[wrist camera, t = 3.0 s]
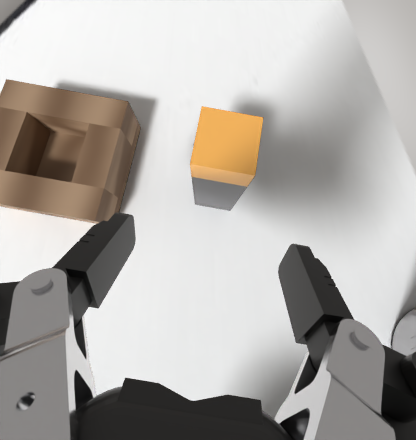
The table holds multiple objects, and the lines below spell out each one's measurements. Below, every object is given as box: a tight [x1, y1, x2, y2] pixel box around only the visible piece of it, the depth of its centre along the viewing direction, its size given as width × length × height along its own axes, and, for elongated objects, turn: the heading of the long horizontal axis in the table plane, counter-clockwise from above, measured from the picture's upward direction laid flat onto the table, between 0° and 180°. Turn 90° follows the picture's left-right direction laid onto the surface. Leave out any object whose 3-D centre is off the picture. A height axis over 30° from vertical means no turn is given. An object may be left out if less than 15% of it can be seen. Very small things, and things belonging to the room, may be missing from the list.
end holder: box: [0, 79, 141, 224], centre depth 20 cm, size 12×12×4 cm
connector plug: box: [190, 106, 263, 211], centre depth 17 cm, size 4×4×10 cm
